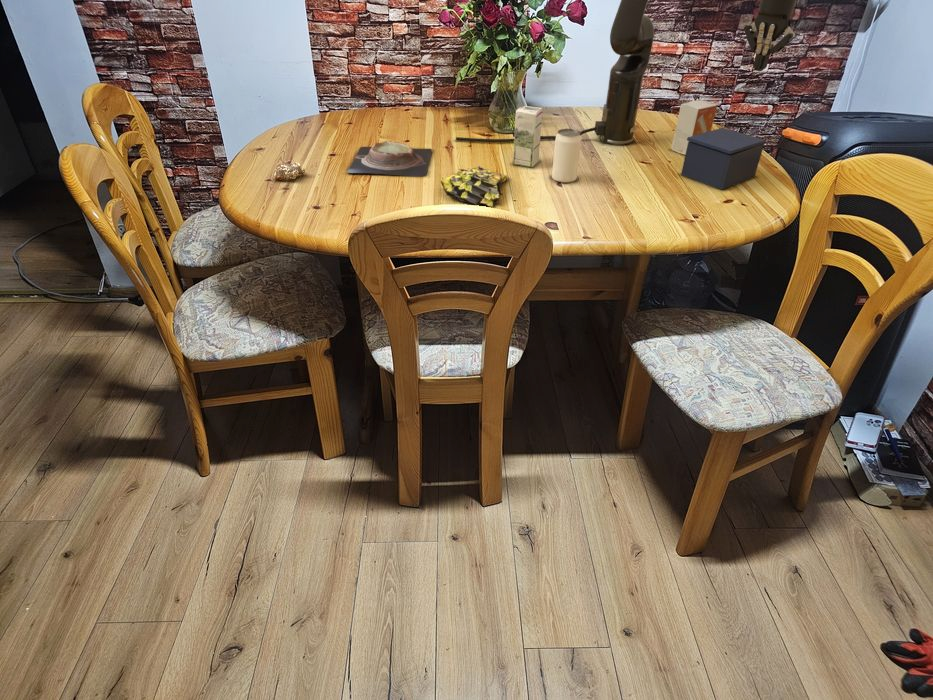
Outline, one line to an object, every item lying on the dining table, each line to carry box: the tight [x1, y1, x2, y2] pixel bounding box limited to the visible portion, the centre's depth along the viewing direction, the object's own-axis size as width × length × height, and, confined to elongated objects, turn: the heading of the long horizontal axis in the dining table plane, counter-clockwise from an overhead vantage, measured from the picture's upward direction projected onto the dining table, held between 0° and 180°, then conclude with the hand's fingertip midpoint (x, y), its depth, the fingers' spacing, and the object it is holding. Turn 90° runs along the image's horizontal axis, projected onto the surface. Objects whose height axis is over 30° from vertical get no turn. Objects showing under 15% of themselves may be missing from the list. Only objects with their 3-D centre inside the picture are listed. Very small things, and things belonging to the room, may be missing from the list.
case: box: [680, 141, 765, 191], centre depth 161 cm, size 15×13×9 cm
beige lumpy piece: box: [273, 162, 306, 181], centre depth 159 cm, size 8×7×4 cm
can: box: [551, 128, 582, 184], centre depth 158 cm, size 6×6×12 cm
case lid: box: [687, 127, 766, 154], centre depth 158 cm, size 15×13×1 cm
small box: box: [670, 99, 718, 156], centre depth 175 cm, size 8×6×13 cm
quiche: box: [346, 140, 433, 177], centre depth 169 cm, size 21×20×4 cm
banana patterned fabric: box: [440, 165, 509, 208], centre depth 155 cm, size 20×16×7 cm
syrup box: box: [512, 105, 543, 168], centre depth 166 cm, size 6×6×14 cm
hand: (758, 70), depth 154 cm, fingers closed
